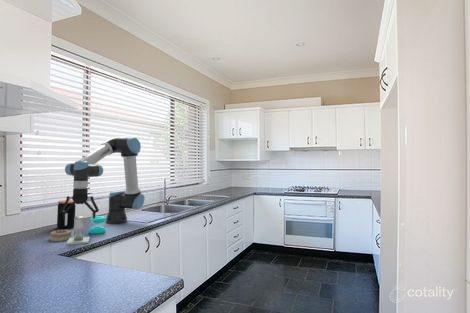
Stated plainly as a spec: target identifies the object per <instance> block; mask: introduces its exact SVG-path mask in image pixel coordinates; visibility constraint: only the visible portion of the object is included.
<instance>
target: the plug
mask: <svg viewBox="0 0 470 313" xmlns="http://www.w3.org/2000/svg"><path fill="white" fill-rule="evenodd" d="M84 218H85V217H84V216H81V215H79V216H75V217H74V227H73V238H74V241H80V240H83V237H84V222H85V220H84Z"/></svg>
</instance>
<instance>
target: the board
mask: <svg viewBox="0 0 470 313" xmlns="http://www.w3.org/2000/svg"><path fill="white" fill-rule="evenodd" d="M90 239H91V236H83V240H80V241H74V237H71V238H69V239H68V240H66V243H65V244H66V246H68V245H69V246H70V245H81V244H82V245H83V244H84V245H85V244H89V242H90Z"/></svg>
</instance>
